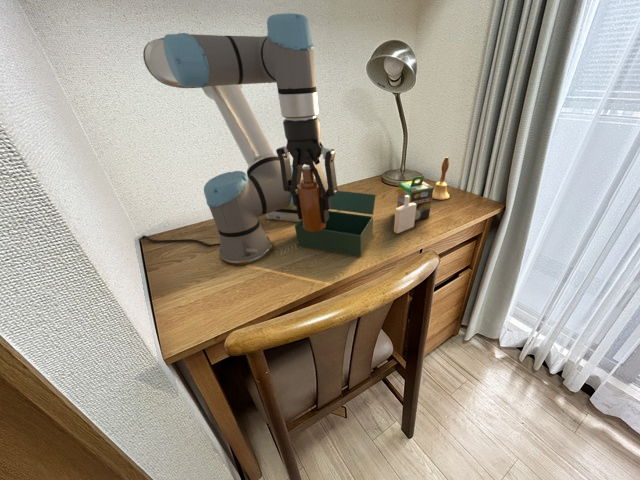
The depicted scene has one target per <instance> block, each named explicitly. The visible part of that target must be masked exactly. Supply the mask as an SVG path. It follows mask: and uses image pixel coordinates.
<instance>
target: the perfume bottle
mask: <svg viewBox="0 0 640 480" xmlns="http://www.w3.org/2000/svg"><path fill="white" fill-rule="evenodd" d="M409 198H410V196H408V195H407V196H405V200H404V205H403V206H400V207H398V208H397V207H396V208H395V211H394V226H393V232H394V233H395V234H400V233H402V232H405V231H407V230H410V229H412V228H414V227H415V221H416V220H415V213H416V203H413V202H412V203H409Z"/></svg>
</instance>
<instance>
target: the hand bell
mask: <svg viewBox="0 0 640 480" xmlns="http://www.w3.org/2000/svg"><path fill="white" fill-rule="evenodd" d="M449 158H450V157H449V156H445V157H444V159H443V161H442V164H441V176H440V180H439V181H438V182H436V183H435V186H434V189H433V195H432V199H435V200H439V201H440V200H441V201H442V200H443V201H444V200H448V199H450V194H449V193H448V184H447V183H446V182H445V181H446V174H447V172H448V170H449V166H450V159H449Z"/></svg>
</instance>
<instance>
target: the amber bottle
mask: <svg viewBox="0 0 640 480" xmlns="http://www.w3.org/2000/svg"><path fill="white" fill-rule="evenodd" d="M302 176H303V180H301V183H299V184H298V185H297V190H298V197H299V203H300V209H301V216H302V222H303V228H304V229H305V230H307V231H311V232H314V231H320V230H322V229H324V228H325V227H326V223H322V216H321V207H320V197H322V194H321V191H320V189H319V186H318V184H317V181H316V179H315V176H314V173H313V171H312V170H311V169H310V166H308V165H306V166H303V168H302Z"/></svg>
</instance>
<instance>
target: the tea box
mask: <svg viewBox="0 0 640 480" xmlns="http://www.w3.org/2000/svg"><path fill="white" fill-rule="evenodd" d="M301 180H303V175H301ZM265 217H266V219H267V220H277V221H287V222H294V223H298V222H300V221H301V220H302V219H301V220H299V219H298V213H297V207H296V206H294V204H293V205H291V206H289V207H287V208H286V207H285V208H282V209H279V210H276V211H273V212H270V213H267V214H265Z"/></svg>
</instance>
